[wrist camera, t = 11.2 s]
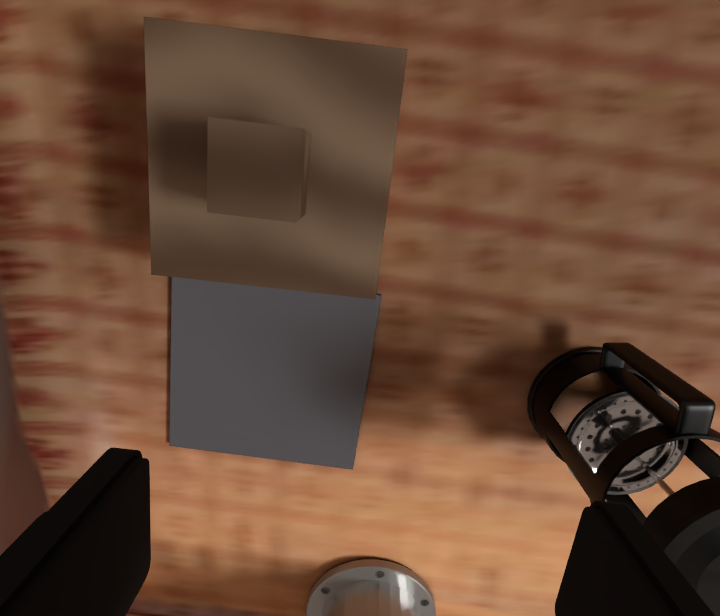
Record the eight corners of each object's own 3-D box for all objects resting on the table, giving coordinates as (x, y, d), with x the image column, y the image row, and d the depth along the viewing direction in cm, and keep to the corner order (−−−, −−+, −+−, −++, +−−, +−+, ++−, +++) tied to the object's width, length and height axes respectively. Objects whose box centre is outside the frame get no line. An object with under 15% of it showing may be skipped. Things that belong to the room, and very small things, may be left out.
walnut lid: (375, 296, 29) (376, 320, 24) (157, 271, 29) (117, 291, 24) (406, 52, 25) (415, 27, 20) (150, 21, 24) (100, -12, 20)
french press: (630, 454, 39) (969, 829, 17) (520, 454, 39) (717, 825, 17) (655, 326, 35) (1128, 592, 13) (535, 327, 35) (807, 591, 14)
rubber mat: (352, 466, 40) (352, 469, 39) (171, 443, 39) (169, 445, 39) (381, 294, 35) (381, 295, 34) (174, 264, 34) (172, 266, 34)
